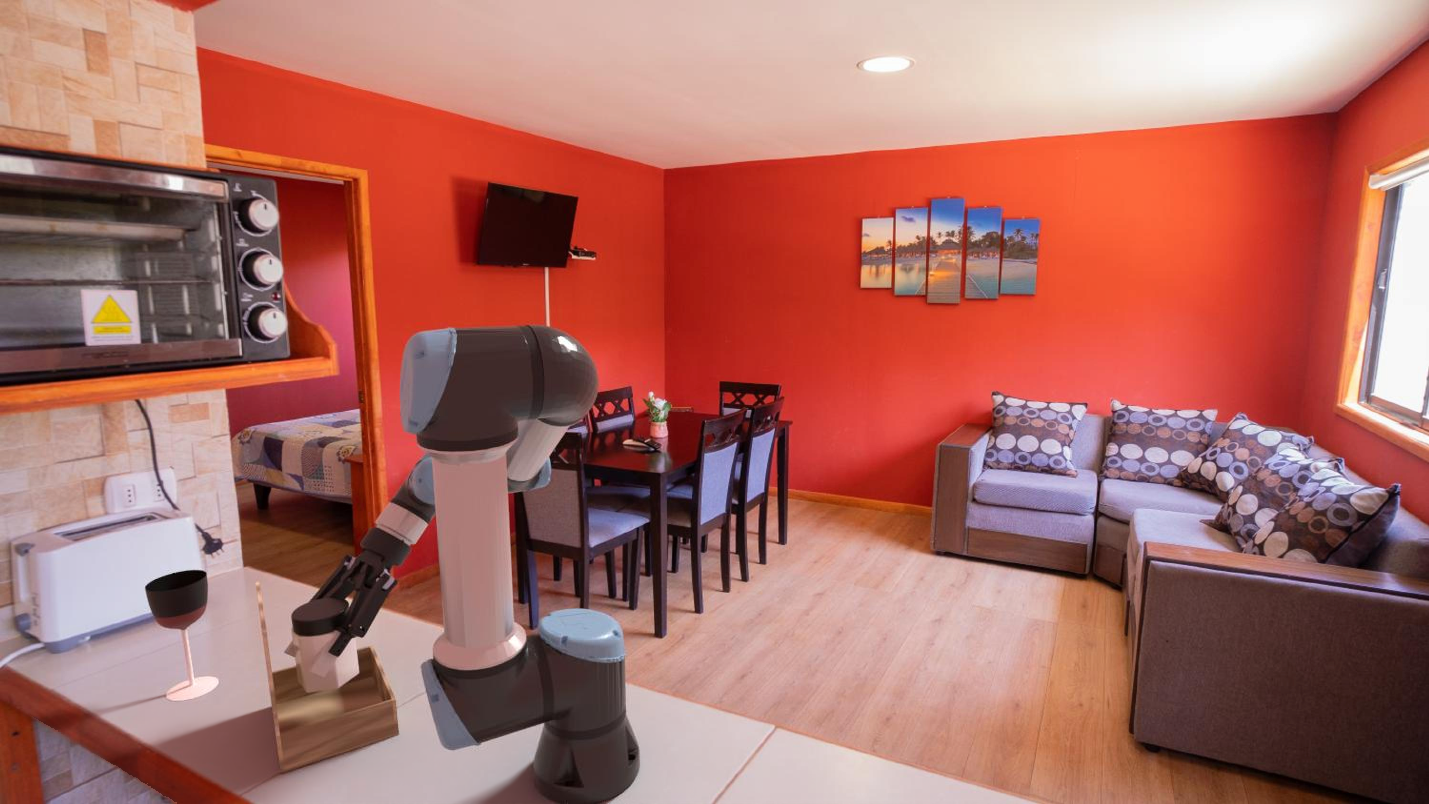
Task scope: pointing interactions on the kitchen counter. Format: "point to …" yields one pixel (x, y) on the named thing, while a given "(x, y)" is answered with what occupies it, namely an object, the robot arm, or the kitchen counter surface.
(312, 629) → the jar
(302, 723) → the open wooden box
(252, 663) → the kitchen counter surface
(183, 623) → the wineglass
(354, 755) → the kitchen counter surface
